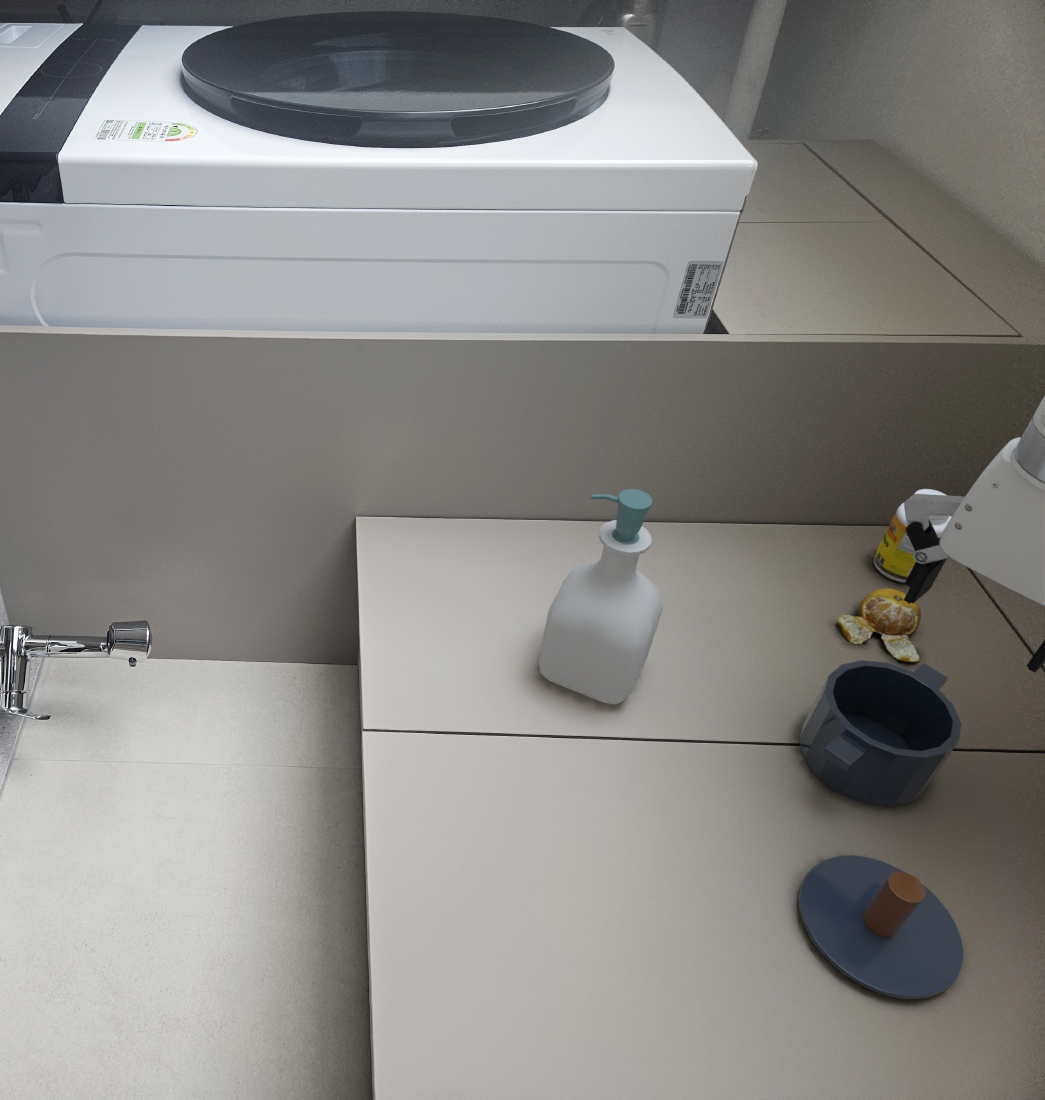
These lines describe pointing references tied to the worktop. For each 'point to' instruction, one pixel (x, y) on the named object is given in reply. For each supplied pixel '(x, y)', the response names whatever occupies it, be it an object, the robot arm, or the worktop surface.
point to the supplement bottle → (903, 543)
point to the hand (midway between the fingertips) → (974, 627)
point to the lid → (880, 927)
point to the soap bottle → (605, 611)
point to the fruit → (885, 622)
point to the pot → (880, 731)
